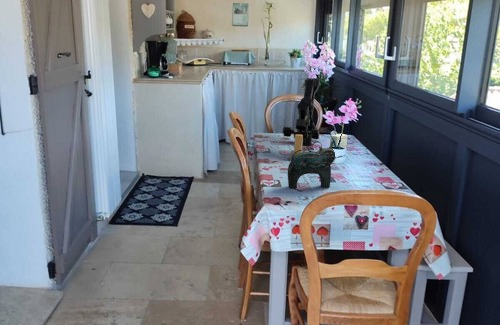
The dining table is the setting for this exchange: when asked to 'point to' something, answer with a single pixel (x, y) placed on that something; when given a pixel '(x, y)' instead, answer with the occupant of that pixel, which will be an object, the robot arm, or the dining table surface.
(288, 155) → the switch housing
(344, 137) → the ink box
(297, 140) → the switch tab
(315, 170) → the dark green animal figurine
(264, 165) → the dining table surface
